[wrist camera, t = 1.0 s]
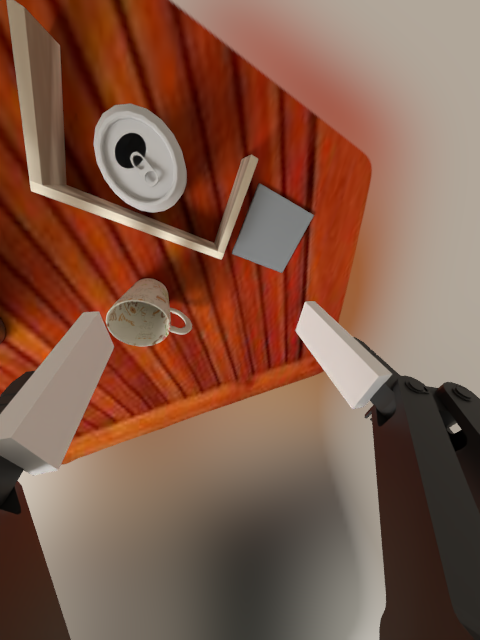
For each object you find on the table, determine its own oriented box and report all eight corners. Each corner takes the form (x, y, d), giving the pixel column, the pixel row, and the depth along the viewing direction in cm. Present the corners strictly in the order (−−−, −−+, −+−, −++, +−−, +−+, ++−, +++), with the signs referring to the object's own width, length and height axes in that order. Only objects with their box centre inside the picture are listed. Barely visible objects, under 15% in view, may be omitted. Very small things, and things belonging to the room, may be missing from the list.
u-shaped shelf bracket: (57, 189, 24) (30, 191, 20) (46, 36, 18) (5, -5, 14) (217, 250, 33) (221, 259, 29) (248, 162, 26) (258, 159, 22)
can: (155, 115, 22) (130, 63, 13) (198, 180, 26) (203, 179, 17) (113, 160, 23) (61, 144, 14) (160, 215, 28) (145, 231, 18)
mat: (231, 252, 33) (232, 253, 33) (258, 183, 28) (259, 183, 28) (280, 271, 38) (282, 272, 37) (312, 214, 32) (313, 215, 32)
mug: (135, 262, 31) (116, 289, 23) (202, 295, 37) (205, 325, 29) (119, 301, 34) (98, 336, 26) (183, 324, 40) (182, 359, 32)
